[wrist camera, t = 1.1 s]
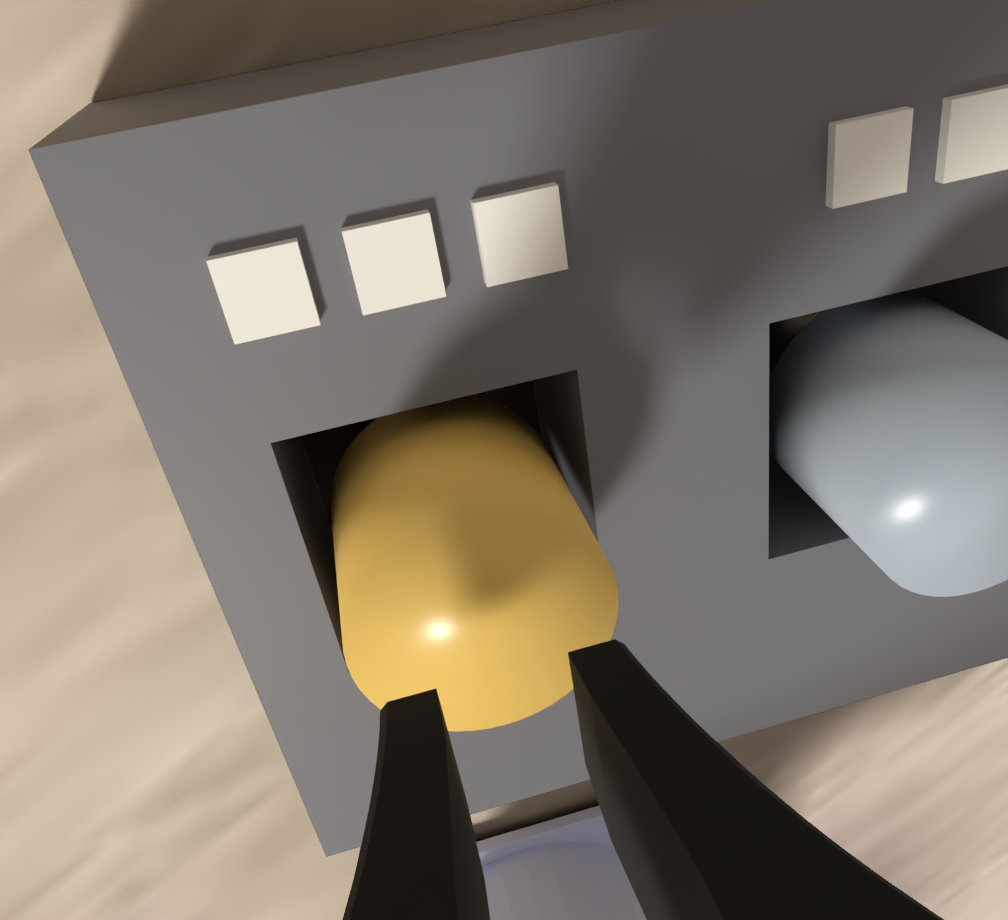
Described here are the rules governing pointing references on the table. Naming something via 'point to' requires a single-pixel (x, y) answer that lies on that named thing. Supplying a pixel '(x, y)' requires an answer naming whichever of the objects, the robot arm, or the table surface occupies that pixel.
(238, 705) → the table surface
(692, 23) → the button panel
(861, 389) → the button two
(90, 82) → the table surface
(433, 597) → the button three
